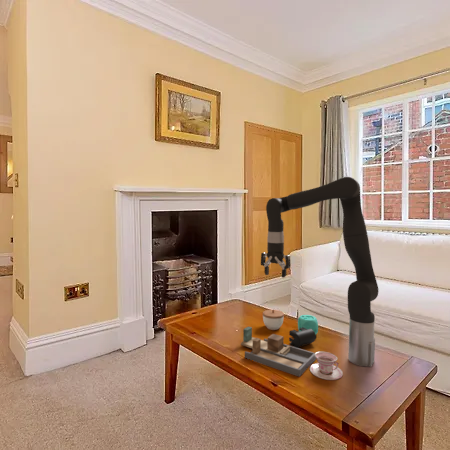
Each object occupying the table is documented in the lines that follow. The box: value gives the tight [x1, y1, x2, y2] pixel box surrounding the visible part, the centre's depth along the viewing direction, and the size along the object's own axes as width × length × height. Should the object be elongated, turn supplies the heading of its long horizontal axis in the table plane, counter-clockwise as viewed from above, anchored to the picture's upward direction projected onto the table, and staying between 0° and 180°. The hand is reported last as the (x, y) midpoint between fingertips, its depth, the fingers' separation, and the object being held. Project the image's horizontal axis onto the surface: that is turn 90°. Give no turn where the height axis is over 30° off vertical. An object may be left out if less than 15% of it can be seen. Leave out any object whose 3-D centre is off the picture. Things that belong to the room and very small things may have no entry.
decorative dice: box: [297, 314, 319, 335], centre depth 156 cm, size 8×8×8 cm
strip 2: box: [252, 337, 302, 369], centre depth 126 cm, size 20×5×6 cm, turn 54°
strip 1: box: [240, 326, 291, 355], centre depth 138 cm, size 20×8×6 cm, turn 54°
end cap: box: [288, 327, 317, 348], centre depth 143 cm, size 10×7×7 cm
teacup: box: [309, 351, 344, 381], centre depth 120 cm, size 12×12×6 cm
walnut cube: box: [266, 333, 284, 352], centre depth 135 cm, size 5×5×5 cm
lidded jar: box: [262, 309, 285, 331], centre depth 163 cm, size 11×11×9 cm
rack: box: [244, 338, 317, 377], centre depth 130 cm, size 24×17×2 cm
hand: (275, 276), depth 148 cm, fingers open, 8 cm apart
